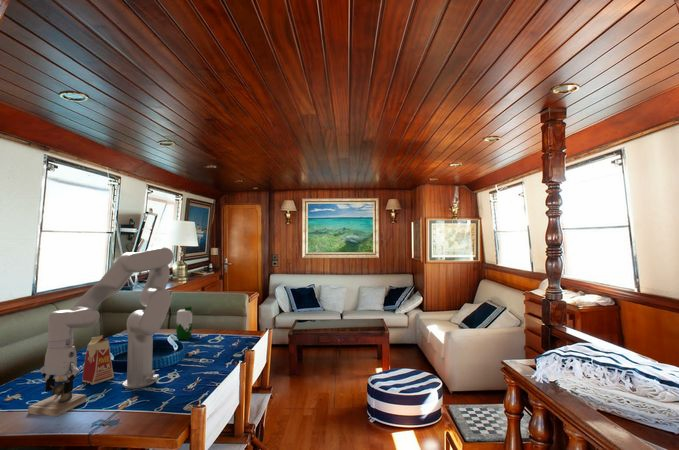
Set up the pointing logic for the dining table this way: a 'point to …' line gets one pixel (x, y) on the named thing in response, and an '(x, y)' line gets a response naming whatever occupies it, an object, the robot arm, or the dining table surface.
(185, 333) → the soya milk
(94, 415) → the dining table surface
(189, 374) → the dining table surface
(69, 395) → the brown bird figurine
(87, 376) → the milk carton
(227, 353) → the dining table surface
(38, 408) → the tan wooden tray
